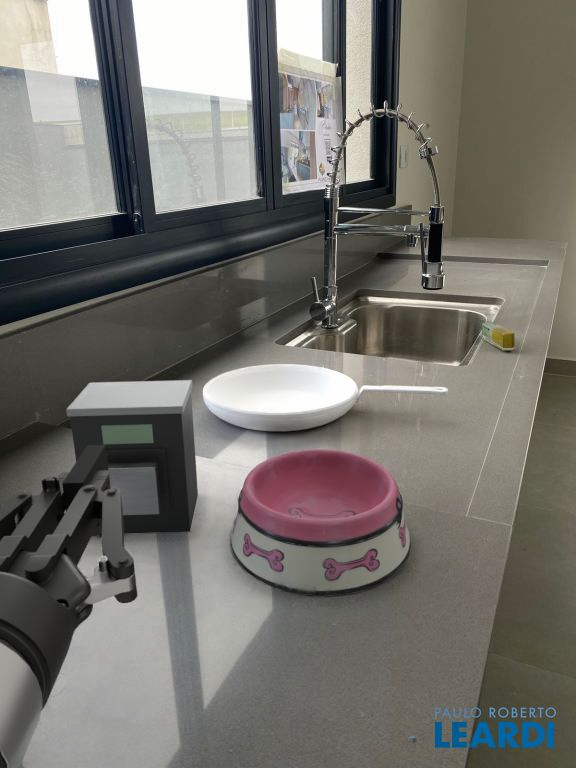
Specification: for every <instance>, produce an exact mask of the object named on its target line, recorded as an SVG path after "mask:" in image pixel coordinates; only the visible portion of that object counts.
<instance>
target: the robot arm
mask: <svg viewBox="0 0 576 768" xmlns="http://www.w3.org/2000/svg"><path fill="white" fill-rule="evenodd" d="M41 487H42V491H41V492H40V494H36V495H33V493H32V492H31V491H28V490H23V491H18V492H17V493H14V494H13V495H12V496H11V497H9V498H8V499H7V500H6V501H4V503H2V504H1V505H0V768H20V767H21V766H22V765H21V764H22V763H23V760H24V758H25V755H26V753H27V750H28V748H29V746H30V743H31V741H32V738H33V736H34V733H35V732H36V729H37V727H38V724H39V722H40V719H41V715H42V711H43V710H44V709H45V707H46V705H47V703H48V701H49V699H50V696H51V694H52V691H53V689H54V687H55V684H56V682H57V679H58V677H59V674H60V672H61V669H62V667H63V665H64V663H65V660H66V659H67V655H68V652H69V651H70V647H71V644H72V641H73V637H74V633H75V631H76V630H77V629H78V628H79V626H80V625H81V624H83V623H84V622H85V621H86V620H87V619H88V618H89V617H90V616H91V614H92V612H93V609H94V604H97V603H100V602H102V601H105V600H107V599H111V598H112V597H114V598H115V600H116V602H118V603H120V604H130V603H133V602H134V601H135V600H136V599H137V598H138V587H137V586H138V585H137V577H136V568H135V559H134V557H133V556H132V555H131V554H130V552H129V551H128V550H127V549H126V543H125V541H126V540H125V534H124V519H123V510H122V501H121V492H120V490H119V489H116V488H112V489H111V487H110V478H109V471H108V463H107V454H106V446H105V445H90V446H87V447H86V448H85V450H84V451H83V453H82V454H81V456H80V457H79V459H78V460H77V462H76V461H75V463H74V465H73V466H72V468H71V469H70V470H69V471H63V472H61V473H60V474H58V475H57V476H47V477H45V478H43V479H41ZM101 519H102V523H101ZM98 526H100V527H102V535H101V551H102V555H101V556H100V557H99V558H98V559H97V561H98V562H97V563H98V565H97V566H95V568H94V570H93V576H92V577H91V578H89V580H88V579H87V578H86V576H85V575H84V573H83V572H82V571H81V570H80V568H79V567H78V565H79V564H80V561H81V559H82V557H83V555H84V553H85V551H86V549H87V547H88V545H89V543H90V541H91V539H92V536H94V535H93V533H94V531H95V529H96V527H98Z"/></svg>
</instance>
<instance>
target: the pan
mask: <svg viewBox="0 0 576 768" xmlns="http://www.w3.org/2000/svg"><path fill="white" fill-rule="evenodd" d="M364 392H383V393H392V394H393V393H395V394H424V395H438V396H439V395H441V396H442V395H443V396H444V395H447V394H448V393H449V389H448V387H445V386H420V385H419V386H417V385H416V386H415V385H414V386H413V385H388V384H387V385H386V384H385V385H384V384H383V385H369V384H368V385H367V384H365V385H362V386H361V387H360V388H359V387H358V384H357V382H356V381H355V380H354V379H352V378H351V377H350V376H348V375H346V374H344V373H342V372H339V371H337V370H333V369H330V368H327V367H320V366H316V365H307V364H293V363H284V364H283V363H275V364H273V363H272V364H260V365H253V366H247V367H246V366H245V367H241V368H240V367H239V368H236V369H233V370H229V371H227V372H223V373H220V374H219V375H216V376H215V377H213V378H211V379H209V381H207V382H206V383H205V385H204V387H203V388H202V398H203V402H204V404H205V406H206V407H207V408H208V410H209V411H210V412H211V413H212V414H213V415H215V416H216V417H217V418H219V419H220V420H222V421H224V422H226V423H228V424H231V425H233V426H236V427H240V428H243V429H248V430H255V431H263V432H292V431H294V432H295V431H301V430H302V431H303V430H309V429H313V428H317V427H321V426H324V425H326V424H329V423H332V422H334V421H336V420H338V419H339V418H341V417H342V416H344V415H345V414H346V413H348V412H349V411H350V410H351V409H352V408H353V407H354V405H355V404H357V403H358V402H359V400H360V398H361V397H362V395H363V393H364Z"/></svg>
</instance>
